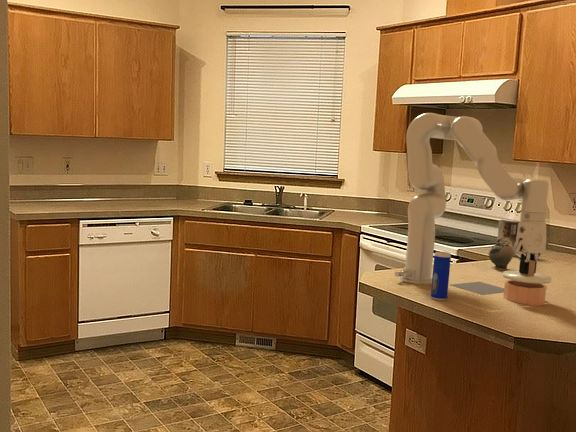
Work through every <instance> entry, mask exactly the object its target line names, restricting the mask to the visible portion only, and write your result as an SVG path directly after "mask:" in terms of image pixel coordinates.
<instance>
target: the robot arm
mask: <svg viewBox="0 0 576 432" xmlns="http://www.w3.org/2000/svg"><path fill="white" fill-rule="evenodd" d="M483 130H484V129H483V125H482V123H481V122H480V120H479V119H477V118H475V117H472V116H471V117H470V116H466V115H462V116H452V115H445V114H444V115H443V114H439V113H434V112H425V113H422V114H420V115H418V116H417V117H415V118H414V119H413V120H412V121H411V122H410V124H409V126H408V127H407V131H406V138H405V139H406V151H407V168H408V179H409V180H408V181H409V184H410V186H411V187H412V188H413V189H415V190H419V194H417V195H415V196H413V198H411V200H410V201H409V202H408V203H409V204H408V206H407V217H408V219H407V220H408V221H407V224H408V226H407V227H408V228H407V240H406V241H407V243H406V253H405V254H406V255H405V266H404V267H403V268H402V270H401V271H400V270H399V271H398V270H397V271H395V272H394V275H395V276H394V277H396V278H399V279H400V281H402V282H405V283H409V284H415V285H417V284H418V285H432V276H433V264H434V253H435V252H434V251H435V241H436V239H435V238H436V223H435V219H439V218H440V217H441V216H442V215H443V214H444V212H445V211H446V205H447V200H446V189H445V188H446V187H445V176H444V174H443V170H442V169H441V168H440V167H439V166H438V165H437V164H434V163H433V152H432V147H431V143H430V142H431V141H430V139H438V140H439V139H440V140H448V141H456V142H457V143H458V145H459V146H460V147H461V148H462V149H463V151H464V152H465V153H466V155H467V156H468V158H469V159H470V160H471V161H472V162H473V164H474V166H475V168H476V170H477V172H478V173H479V175H480V176H481V178H482V180H483V181H484V183H485V185H487V186H488V188H489V189H490V190H491V191H492V192H493V193H494V195H495V196H496V197H497V198H498V199H500V200H502V201H513V200H521V209H520V219H519V222H520V223H519V227H518V231H517V237H516V251H515V254H516V256H517V257H518V261H519V267H518V271H519V273H523V274H528V271H529V262H528V260H533V261H535V271H534V274H535V273H537V263H538V261H539V257H540V256H541V255H542V254H543V253H544V252H545V251H546V248H547V222H546V215H547V214H546V213H547V206H548V197H549V195H548V194H549V187H550V186H549V182H548V181H547V180H544V179H536V178H535V179H533V178H528V179H527V178H522V177H519V176H511V175H510V173H509V172H508V171H507V170H506V169H505V167H504V166H503V165H502V163H501V162H500V160H499V158H498V151H497V147H496V146H495V145H494V144H493V143H492V141H491V140H490V139H489V138H488V136H487V135H486V134H485V132H484V131H483Z"/></svg>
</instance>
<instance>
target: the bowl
mask: <svg viewBox="0 0 576 432" xmlns="http://www.w3.org/2000/svg"><path fill="white" fill-rule="evenodd" d="M503 288H504V292H503V298H504V299H505V300H506V301H510V302H512V303H517V304H521V305H522V304H523V305H530V306H531V307H532V306H534V307H535V306H536V307H539V306H545V303H546V297H547V288H548V286H547V285H545V284H536V283H526V282H519V281H514V280H510V279H507V280H505V282H504V286H503Z"/></svg>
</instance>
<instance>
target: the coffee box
mask: <svg viewBox="0 0 576 432" xmlns="http://www.w3.org/2000/svg"><path fill="white" fill-rule="evenodd" d="M519 223H520V220H519V221H516V220H508V219H501V220H498V229H497V231H498V232H497V240H496V243H499V242H500V241H501V239H502V242H507V243H508V242H509V244H510V245H512V247H513V248H514V252H515V251H516V237H517V231H518V227H519ZM516 256H517V255H516V254H514V256H513V257H516Z"/></svg>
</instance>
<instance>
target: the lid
mask: <svg viewBox="0 0 576 432" xmlns="http://www.w3.org/2000/svg"><path fill="white" fill-rule="evenodd" d="M528 262H529V271H528V274H523V273H519V270H512V269H511V270H508V271H506V270H505V271H504V270H503V271H502V277H503V278H505V279H507V280H514V281H519V282H526V283H536V284H543V285H545V284H550V283H552V280H553V277H551V276H549V275H547V274H544V273H539V272H536V273H535V274H534V271H535V261H533V260H528Z"/></svg>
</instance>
